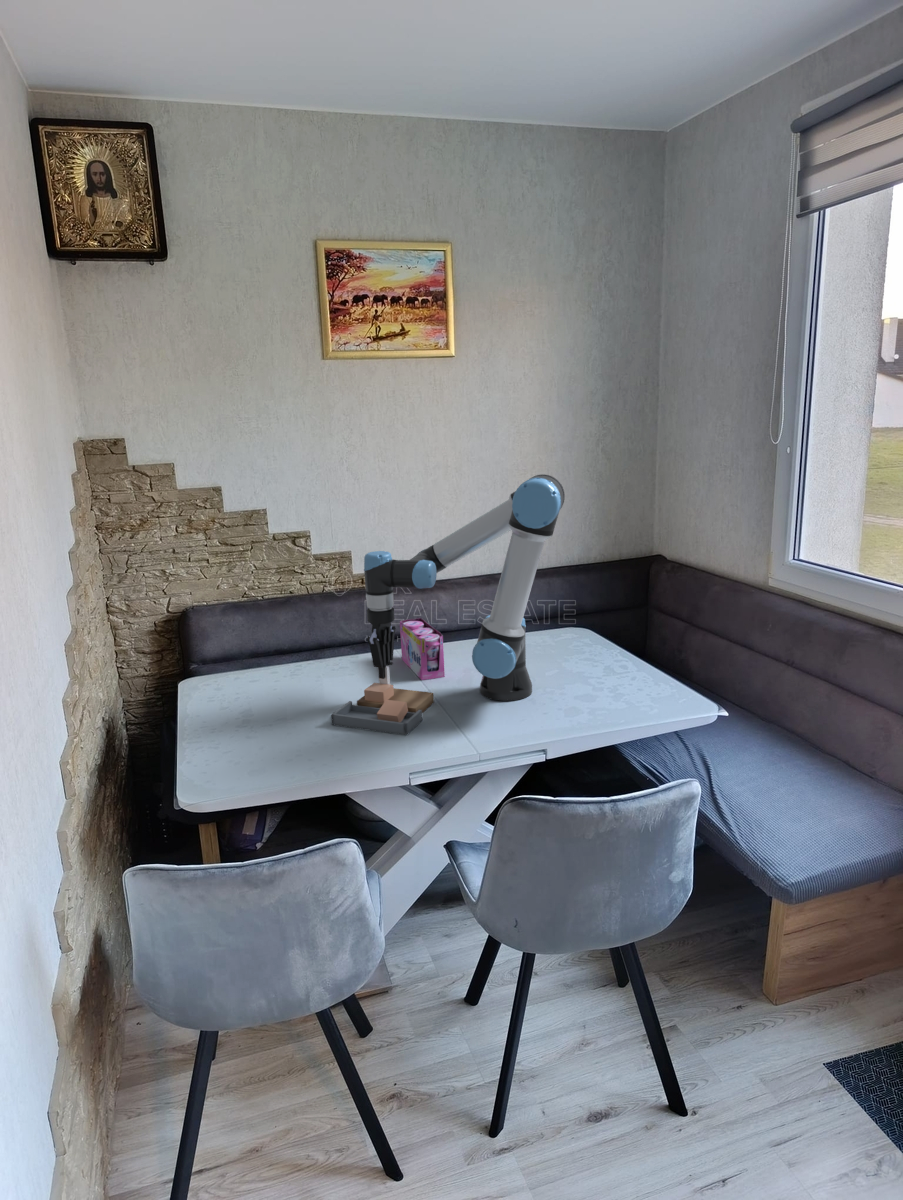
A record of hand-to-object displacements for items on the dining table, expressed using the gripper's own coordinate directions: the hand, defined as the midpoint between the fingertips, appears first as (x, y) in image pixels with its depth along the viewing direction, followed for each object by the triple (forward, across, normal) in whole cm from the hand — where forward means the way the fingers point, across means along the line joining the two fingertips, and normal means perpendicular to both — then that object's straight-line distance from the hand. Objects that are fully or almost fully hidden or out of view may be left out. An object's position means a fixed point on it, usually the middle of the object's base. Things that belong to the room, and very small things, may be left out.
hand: (384, 687), depth 218 cm
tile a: (+3, +11, +8) cm, 14 cm away
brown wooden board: (+5, +2, +4) cm, 7 cm away
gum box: (+5, -30, -2) cm, 31 cm away
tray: (+5, +14, +4) cm, 15 cm away
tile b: (+2, +4, 0) cm, 4 cm away
